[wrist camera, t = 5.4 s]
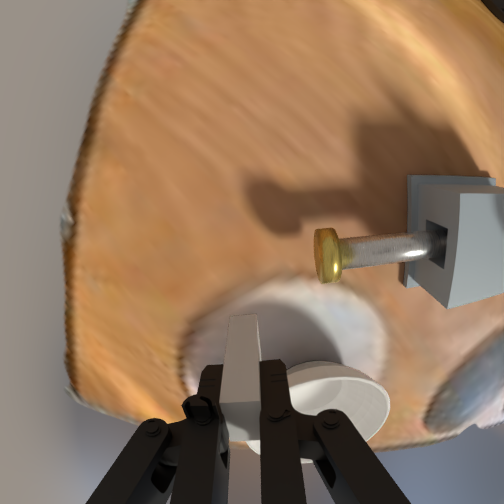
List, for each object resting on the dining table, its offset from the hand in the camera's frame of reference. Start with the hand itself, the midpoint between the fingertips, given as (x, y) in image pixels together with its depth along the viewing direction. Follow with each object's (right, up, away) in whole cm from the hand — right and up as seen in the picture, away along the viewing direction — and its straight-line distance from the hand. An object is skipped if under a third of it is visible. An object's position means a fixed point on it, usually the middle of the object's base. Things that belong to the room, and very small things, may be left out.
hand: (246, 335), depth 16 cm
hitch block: (+27, +8, +15) cm, 32 cm away
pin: (+15, +6, +13) cm, 21 cm away
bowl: (+9, -15, +23) cm, 29 cm away
